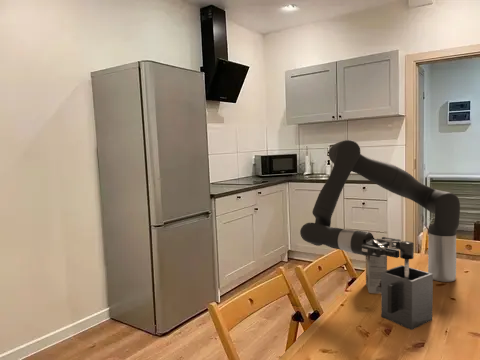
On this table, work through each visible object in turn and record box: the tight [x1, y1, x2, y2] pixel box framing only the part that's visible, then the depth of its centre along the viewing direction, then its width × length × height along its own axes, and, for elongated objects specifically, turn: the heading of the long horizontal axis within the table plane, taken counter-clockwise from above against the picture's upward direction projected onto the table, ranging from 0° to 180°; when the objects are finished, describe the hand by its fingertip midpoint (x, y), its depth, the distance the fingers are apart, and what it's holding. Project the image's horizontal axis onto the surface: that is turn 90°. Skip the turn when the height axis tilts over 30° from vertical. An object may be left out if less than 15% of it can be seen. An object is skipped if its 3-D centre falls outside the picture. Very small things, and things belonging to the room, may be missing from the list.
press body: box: [380, 264, 434, 331], centre depth 110 cm, size 13×10×14 cm
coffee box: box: [365, 255, 388, 294], centre depth 134 cm, size 9×6×16 cm
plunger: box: [399, 240, 415, 280], centre depth 111 cm, size 8×8×21 cm
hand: (405, 251), depth 110 cm, fingers open, 8 cm apart
